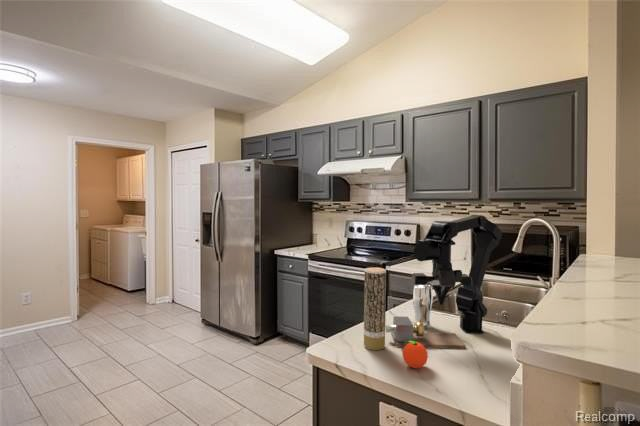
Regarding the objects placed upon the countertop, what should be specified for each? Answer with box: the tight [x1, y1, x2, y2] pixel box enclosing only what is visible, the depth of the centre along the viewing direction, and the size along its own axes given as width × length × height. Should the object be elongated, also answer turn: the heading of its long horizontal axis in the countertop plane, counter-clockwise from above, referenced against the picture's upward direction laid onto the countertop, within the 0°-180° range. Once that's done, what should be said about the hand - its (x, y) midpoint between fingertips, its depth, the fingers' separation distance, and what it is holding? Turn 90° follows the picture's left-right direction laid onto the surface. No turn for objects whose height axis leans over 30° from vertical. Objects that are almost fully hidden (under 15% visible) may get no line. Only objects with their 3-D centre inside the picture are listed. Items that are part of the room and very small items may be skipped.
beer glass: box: [412, 284, 434, 330], centre depth 130 cm, size 7×7×15 cm
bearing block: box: [392, 316, 414, 343], centre depth 116 cm, size 5×8×6 cm, turn 177°
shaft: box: [385, 322, 425, 337], centre depth 116 cm, size 12×5×5 cm, turn 87°
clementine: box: [402, 341, 429, 369], centre depth 99 cm, size 8×7×7 cm
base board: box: [390, 331, 467, 350], centre depth 116 cm, size 22×10×1 cm, turn 87°
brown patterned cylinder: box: [363, 267, 387, 351], centre depth 111 cm, size 7×7×25 cm
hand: (440, 304), depth 117 cm, fingers closed
